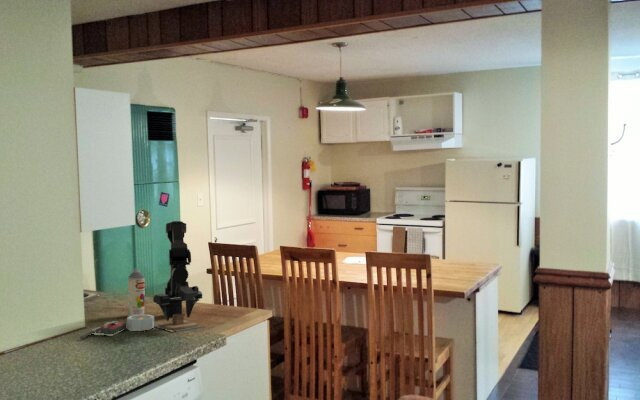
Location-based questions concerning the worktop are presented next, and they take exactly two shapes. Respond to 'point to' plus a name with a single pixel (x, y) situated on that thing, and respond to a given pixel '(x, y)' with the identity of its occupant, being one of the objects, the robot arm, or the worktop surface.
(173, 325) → the lid
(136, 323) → the bowl
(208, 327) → the worktop surface
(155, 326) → the mat
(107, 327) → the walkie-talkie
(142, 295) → the aerosol can
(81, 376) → the worktop surface
